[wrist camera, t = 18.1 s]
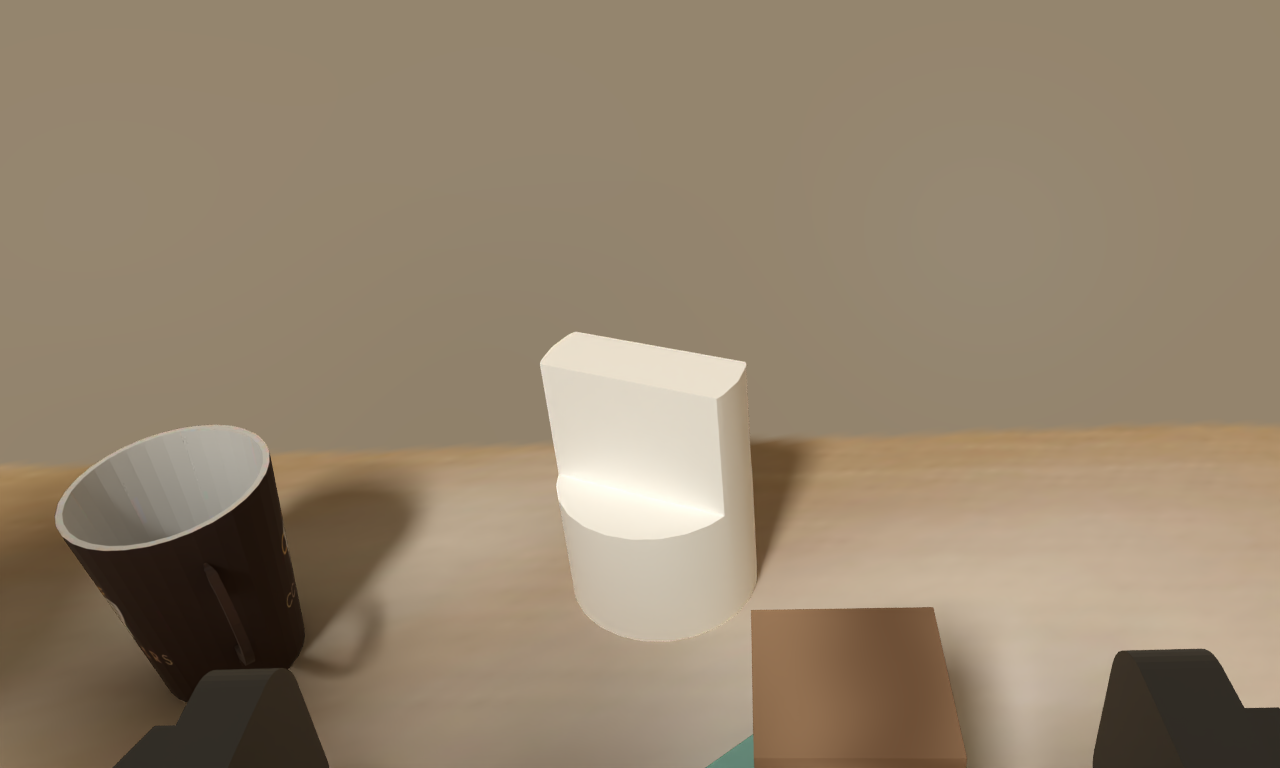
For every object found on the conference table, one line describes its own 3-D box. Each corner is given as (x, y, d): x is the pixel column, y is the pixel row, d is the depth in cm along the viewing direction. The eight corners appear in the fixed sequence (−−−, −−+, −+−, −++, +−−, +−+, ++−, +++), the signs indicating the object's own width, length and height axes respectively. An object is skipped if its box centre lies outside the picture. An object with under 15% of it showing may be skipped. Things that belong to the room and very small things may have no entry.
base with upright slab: (785, 539, 52) (778, 329, 46) (710, 665, 46) (690, 441, 39) (627, 499, 56) (602, 301, 50) (538, 609, 50) (495, 398, 43)
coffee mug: (162, 606, 52) (87, 443, 47) (335, 574, 53) (281, 410, 48) (99, 801, 43) (-3, 623, 37) (313, 759, 43) (242, 578, 38)
